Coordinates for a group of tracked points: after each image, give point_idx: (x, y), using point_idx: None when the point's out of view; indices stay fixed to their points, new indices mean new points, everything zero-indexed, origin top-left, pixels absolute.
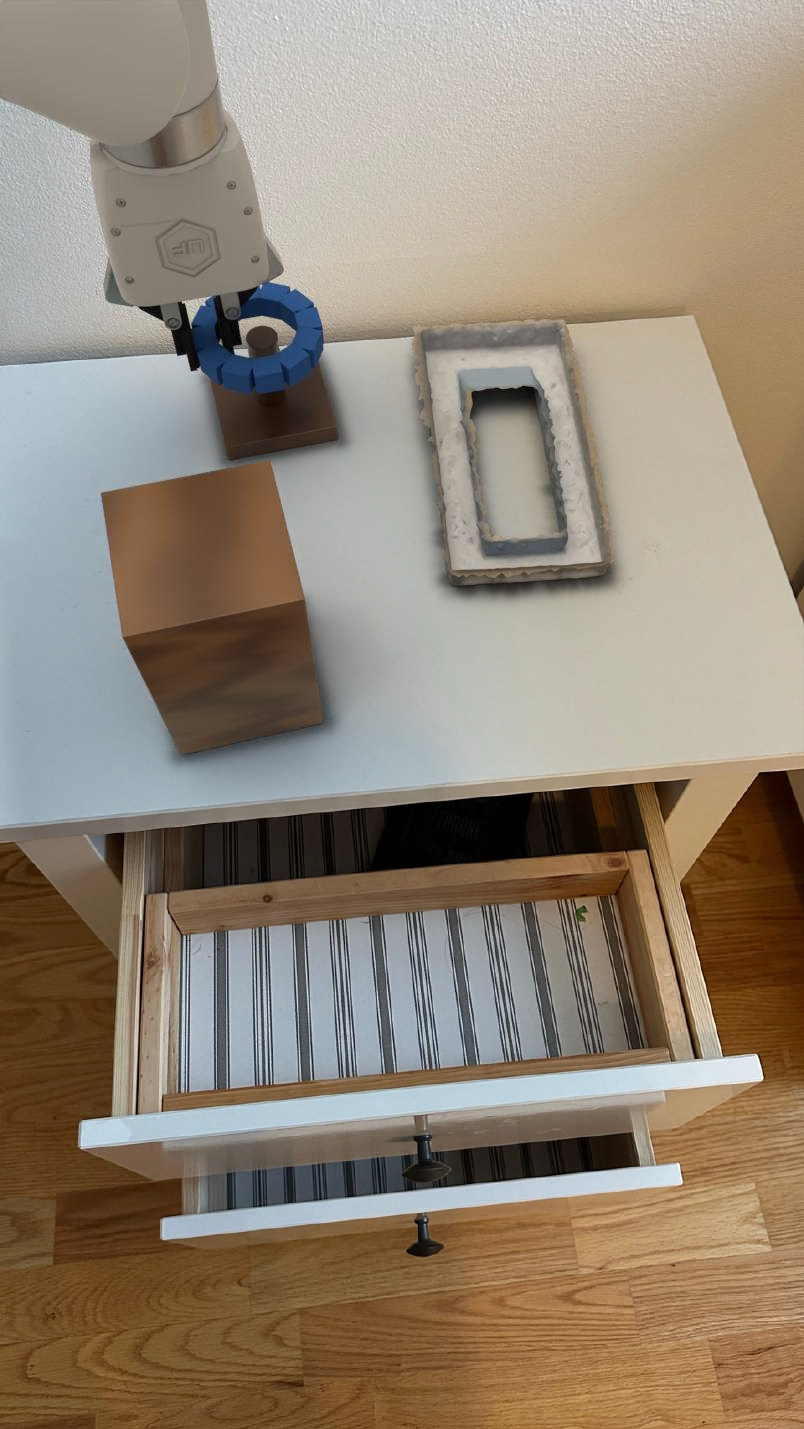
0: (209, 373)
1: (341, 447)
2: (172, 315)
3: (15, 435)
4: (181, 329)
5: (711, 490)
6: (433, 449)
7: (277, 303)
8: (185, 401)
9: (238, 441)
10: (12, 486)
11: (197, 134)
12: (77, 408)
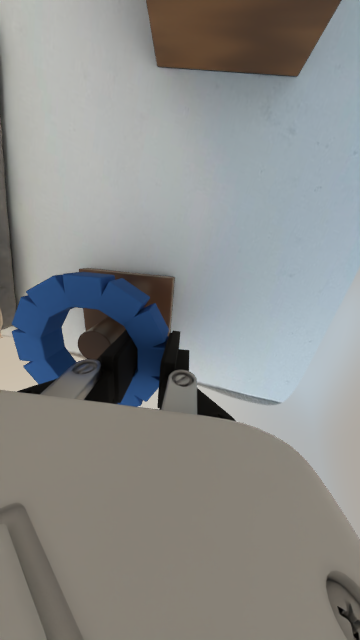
0: (160, 318)
1: (86, 259)
2: (179, 390)
3: (312, 352)
4: (173, 368)
5: None
6: (5, 222)
7: None
8: (190, 341)
9: (161, 281)
10: (337, 309)
11: None
12: (262, 359)
